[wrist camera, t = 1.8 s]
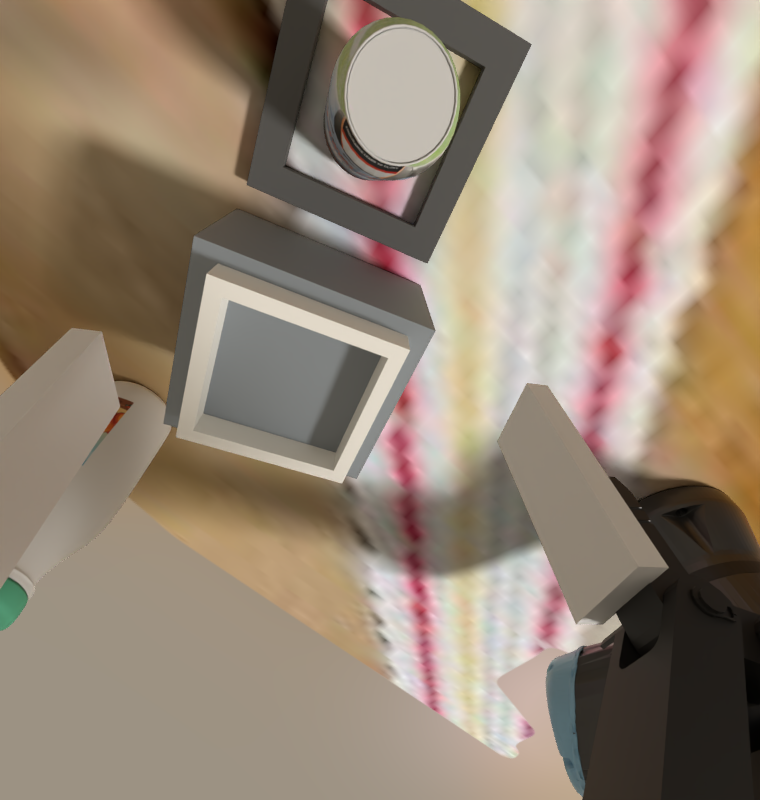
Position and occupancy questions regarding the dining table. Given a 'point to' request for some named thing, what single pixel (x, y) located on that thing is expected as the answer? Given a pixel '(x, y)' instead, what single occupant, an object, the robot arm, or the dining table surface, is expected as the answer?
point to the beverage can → (391, 101)
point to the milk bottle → (91, 493)
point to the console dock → (291, 348)
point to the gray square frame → (500, 62)
